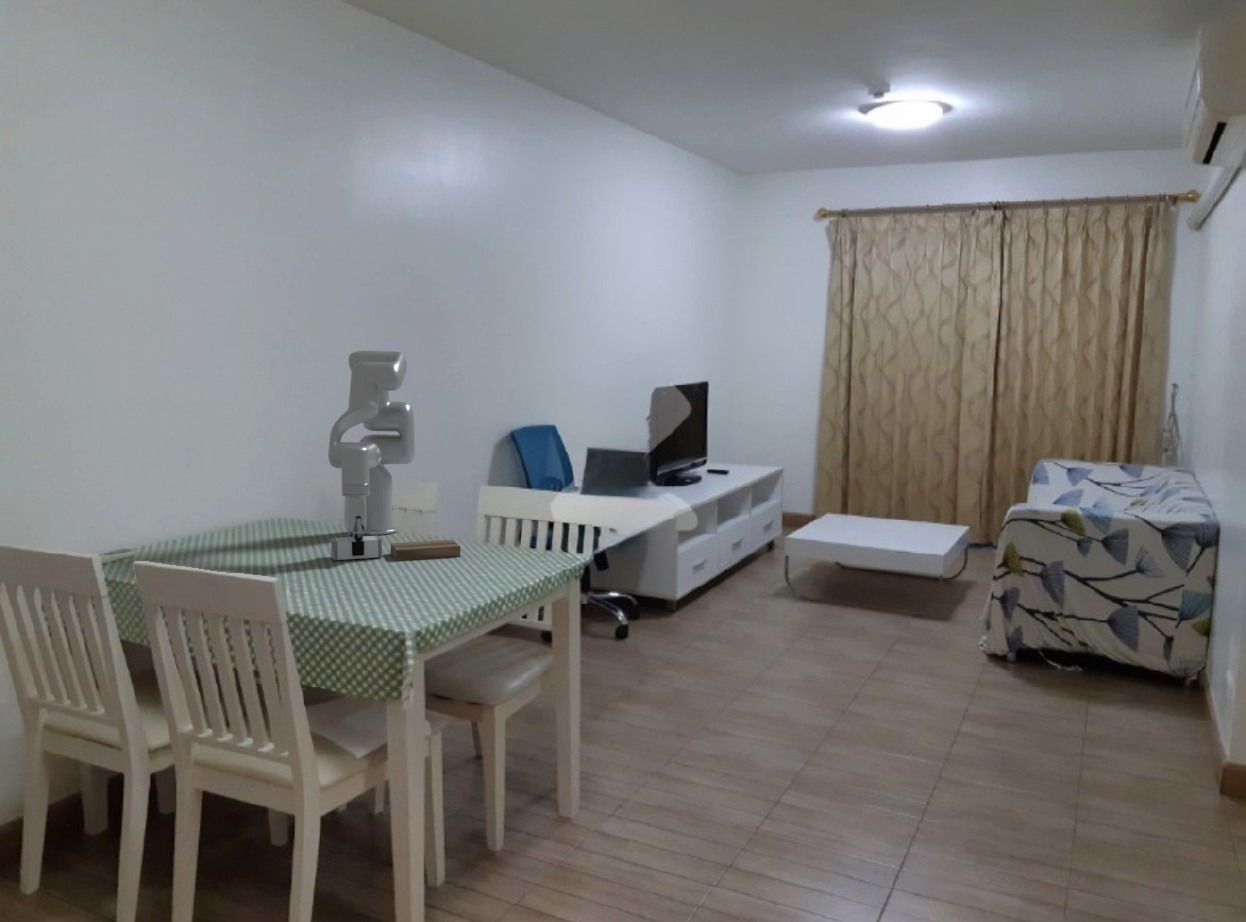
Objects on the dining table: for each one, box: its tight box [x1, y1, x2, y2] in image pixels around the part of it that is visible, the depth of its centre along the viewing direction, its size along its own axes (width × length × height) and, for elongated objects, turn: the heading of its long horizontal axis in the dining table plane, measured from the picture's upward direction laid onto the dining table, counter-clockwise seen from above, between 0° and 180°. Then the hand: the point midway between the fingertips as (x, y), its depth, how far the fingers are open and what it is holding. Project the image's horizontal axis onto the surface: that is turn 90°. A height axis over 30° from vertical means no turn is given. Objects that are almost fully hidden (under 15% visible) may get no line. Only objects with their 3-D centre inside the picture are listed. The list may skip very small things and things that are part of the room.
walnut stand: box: [390, 539, 461, 561], centre depth 276 cm, size 10×18×3 cm, turn 113°
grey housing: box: [330, 535, 383, 561], centre depth 270 cm, size 6×13×5 cm, turn 113°
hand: (356, 552), depth 271 cm, fingers closed on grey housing, 6 cm apart
